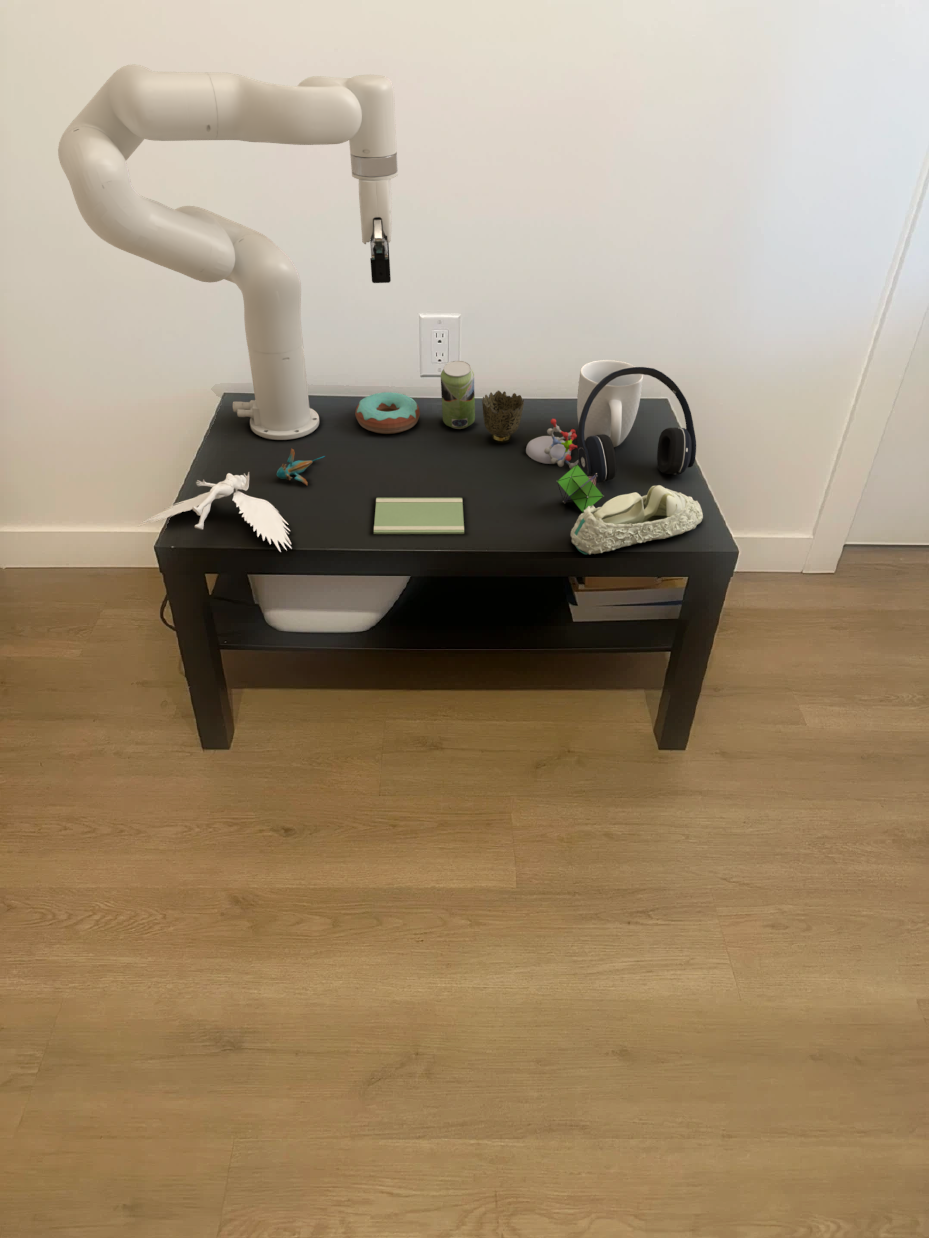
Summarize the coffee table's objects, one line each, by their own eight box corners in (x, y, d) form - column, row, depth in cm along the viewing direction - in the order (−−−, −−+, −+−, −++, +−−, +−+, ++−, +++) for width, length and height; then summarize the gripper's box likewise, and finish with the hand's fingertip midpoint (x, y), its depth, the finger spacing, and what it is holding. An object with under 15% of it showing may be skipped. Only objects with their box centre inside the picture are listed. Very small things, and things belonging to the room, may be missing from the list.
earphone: (684, 473, 152) (678, 366, 149) (702, 472, 146) (697, 360, 143) (576, 484, 149) (568, 375, 146) (589, 484, 142) (581, 369, 139)
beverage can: (476, 417, 165) (478, 356, 157) (472, 435, 159) (474, 373, 151) (443, 415, 165) (443, 354, 157) (438, 433, 159) (438, 371, 152)
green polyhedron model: (591, 466, 133) (576, 451, 140) (557, 495, 135) (544, 478, 142) (617, 498, 137) (601, 481, 144) (583, 526, 138) (569, 508, 145)
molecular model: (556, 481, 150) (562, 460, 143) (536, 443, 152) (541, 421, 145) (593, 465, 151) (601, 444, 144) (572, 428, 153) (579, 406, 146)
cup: (527, 436, 159) (530, 395, 154) (512, 453, 154) (514, 412, 149) (490, 427, 162) (492, 387, 157) (474, 444, 156) (475, 403, 151)
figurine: (112, 522, 127) (162, 529, 141) (268, 560, 123) (304, 564, 137) (129, 442, 127) (178, 457, 140) (286, 478, 122) (321, 490, 136)
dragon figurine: (279, 453, 150) (266, 458, 143) (318, 438, 149) (306, 442, 142) (295, 488, 152) (282, 495, 144) (332, 473, 151) (322, 479, 143)
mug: (642, 466, 151) (654, 396, 143) (580, 466, 151) (588, 396, 143) (626, 426, 163) (637, 359, 155) (568, 426, 162) (575, 359, 154)
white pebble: (525, 452, 151) (525, 462, 152) (571, 455, 150) (570, 465, 152) (527, 430, 157) (526, 439, 158) (572, 433, 156) (570, 443, 158)
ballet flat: (716, 530, 138) (728, 487, 132) (592, 571, 128) (600, 527, 123) (680, 502, 143) (691, 460, 138) (559, 540, 133) (565, 497, 128)
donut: (350, 412, 165) (349, 392, 163) (411, 405, 168) (411, 385, 165) (362, 441, 157) (361, 421, 154) (426, 433, 159) (426, 413, 157)
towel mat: (373, 534, 134) (373, 531, 134) (376, 499, 142) (376, 497, 141) (464, 534, 134) (464, 531, 134) (462, 499, 142) (462, 497, 142)
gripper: (351, 153, 147) (359, 257, 158) (350, 179, 134) (359, 291, 145) (396, 152, 148) (401, 255, 159) (398, 178, 134) (404, 289, 146)
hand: (381, 272), depth 152 cm, fingers open, 9 cm apart
